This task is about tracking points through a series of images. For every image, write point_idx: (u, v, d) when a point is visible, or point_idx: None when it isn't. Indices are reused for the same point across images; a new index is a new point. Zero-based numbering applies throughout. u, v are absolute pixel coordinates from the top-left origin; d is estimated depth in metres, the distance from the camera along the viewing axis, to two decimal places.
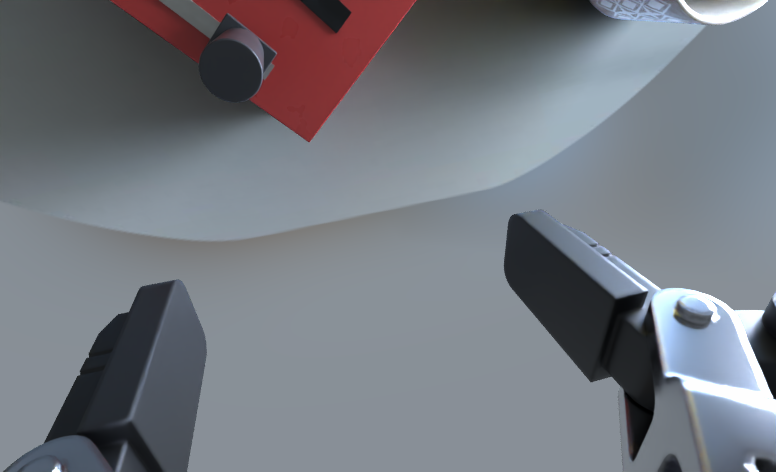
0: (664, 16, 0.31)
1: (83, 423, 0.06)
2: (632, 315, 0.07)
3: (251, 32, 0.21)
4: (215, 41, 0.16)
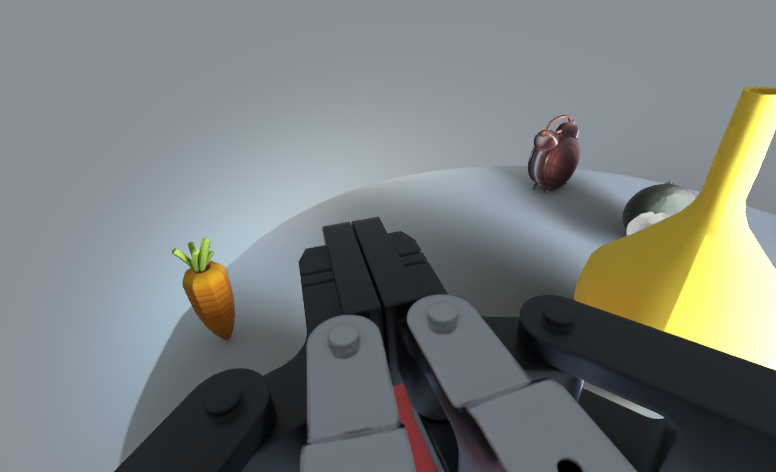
0: None
1: (346, 309, 0.07)
2: (406, 322, 0.07)
3: None
4: None
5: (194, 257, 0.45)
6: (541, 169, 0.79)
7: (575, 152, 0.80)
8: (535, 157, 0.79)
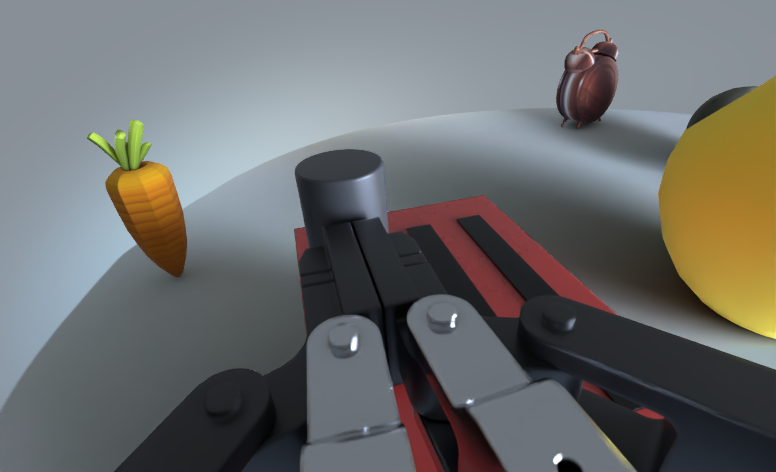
0: None
1: (346, 309, 0.07)
2: (406, 322, 0.07)
3: None
4: None
5: (118, 143, 0.32)
6: (574, 96, 0.66)
7: (613, 78, 0.67)
8: (566, 82, 0.66)
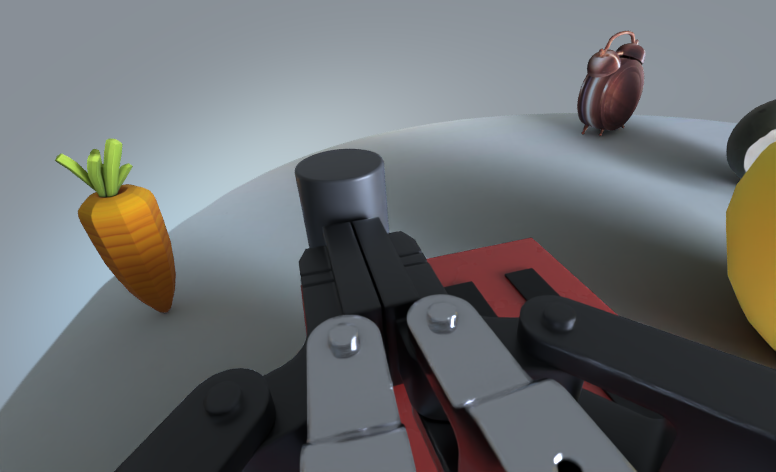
0: None
1: (346, 309, 0.07)
2: (406, 322, 0.07)
3: None
4: None
5: (92, 167, 0.27)
6: (597, 102, 0.61)
7: (639, 82, 0.63)
8: (588, 87, 0.61)
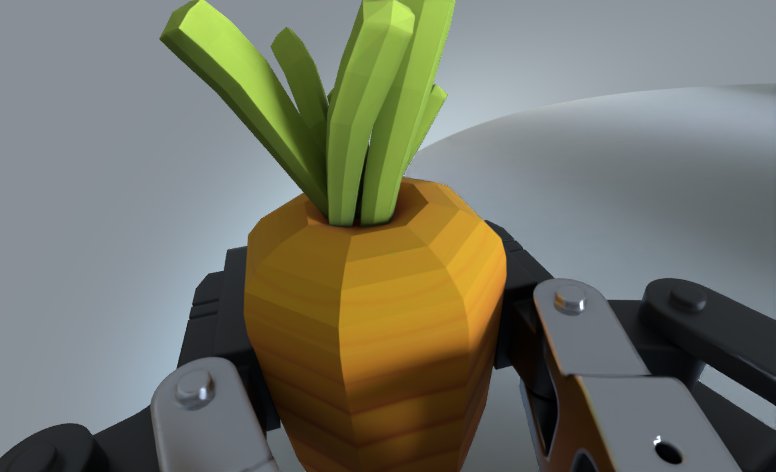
0: None
1: (214, 350, 0.07)
2: (523, 305, 0.08)
3: None
4: None
5: (373, 68, 0.05)
6: None
7: None
8: None
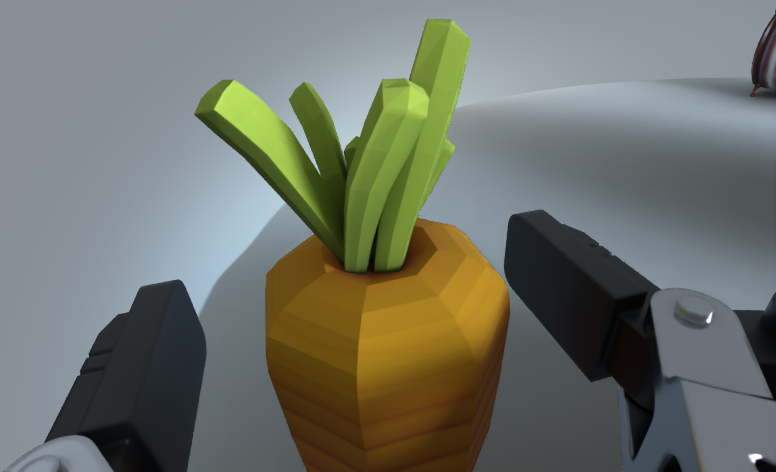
0: None
1: (83, 423, 0.06)
2: (632, 315, 0.07)
3: None
4: None
5: (391, 145, 0.05)
6: None
7: None
8: None
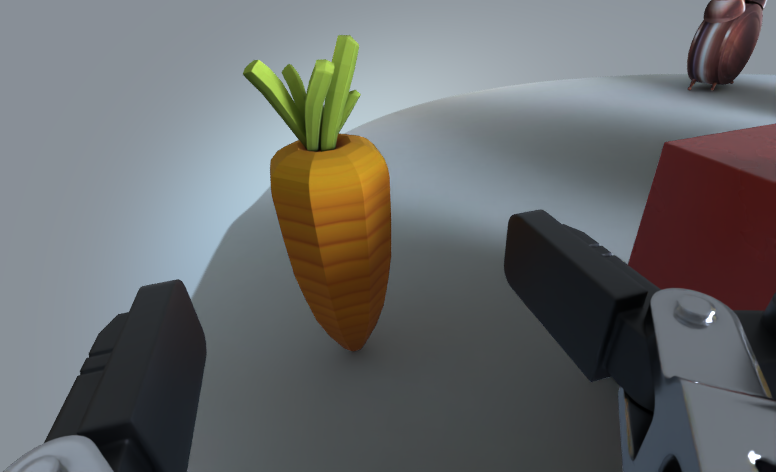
0: None
1: (83, 423, 0.06)
2: (632, 315, 0.07)
3: None
4: None
5: (319, 85, 0.13)
6: (716, 51, 0.56)
7: (757, 31, 0.58)
8: (705, 35, 0.57)
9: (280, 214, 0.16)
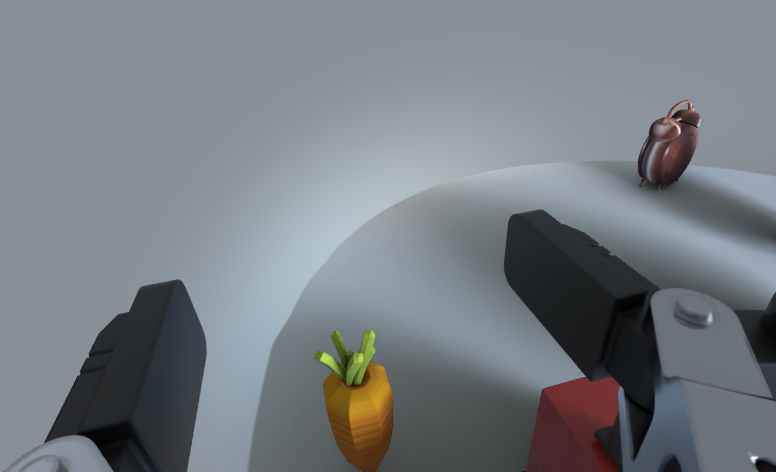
0: None
1: (83, 423, 0.06)
2: (632, 315, 0.07)
3: None
4: None
5: (355, 367, 0.26)
6: (659, 163, 0.68)
7: (694, 143, 0.70)
8: (650, 149, 0.69)
9: (331, 418, 0.28)
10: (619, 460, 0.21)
